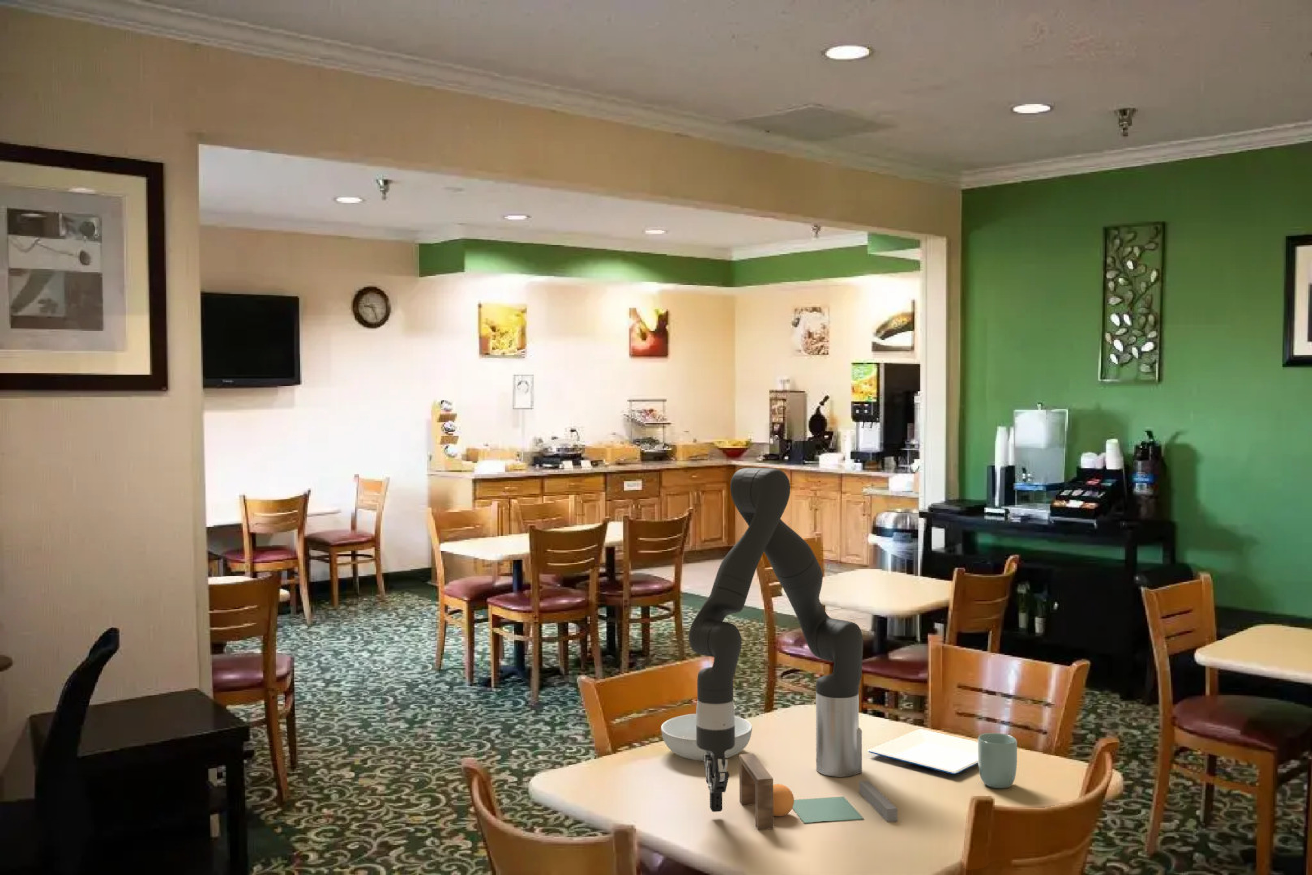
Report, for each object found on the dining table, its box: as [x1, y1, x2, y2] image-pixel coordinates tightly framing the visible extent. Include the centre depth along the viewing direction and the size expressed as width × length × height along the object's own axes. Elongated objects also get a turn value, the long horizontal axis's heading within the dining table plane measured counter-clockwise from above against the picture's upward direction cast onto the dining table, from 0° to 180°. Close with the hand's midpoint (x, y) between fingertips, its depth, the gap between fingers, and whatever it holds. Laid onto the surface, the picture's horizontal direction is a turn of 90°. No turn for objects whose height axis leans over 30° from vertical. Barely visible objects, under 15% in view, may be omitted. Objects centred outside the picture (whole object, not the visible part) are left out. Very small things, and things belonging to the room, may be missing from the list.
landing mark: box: [792, 796, 865, 824], centre depth 220 cm, size 12×12×1 cm
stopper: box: [858, 779, 898, 823], centre depth 222 cm, size 2×16×2 cm, turn 9°
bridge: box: [738, 753, 774, 831], centre depth 218 cm, size 3×15×10 cm, turn 9°
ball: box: [773, 783, 795, 817], centre depth 218 cm, size 6×6×6 cm
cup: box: [977, 732, 1018, 789], centre depth 234 cm, size 8×8×10 cm
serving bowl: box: [660, 713, 753, 762], centre depth 255 cm, size 21×21×7 cm
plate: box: [867, 728, 978, 775], centre depth 253 cm, size 22×22×2 cm
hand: (716, 809), depth 217 cm, fingers closed
